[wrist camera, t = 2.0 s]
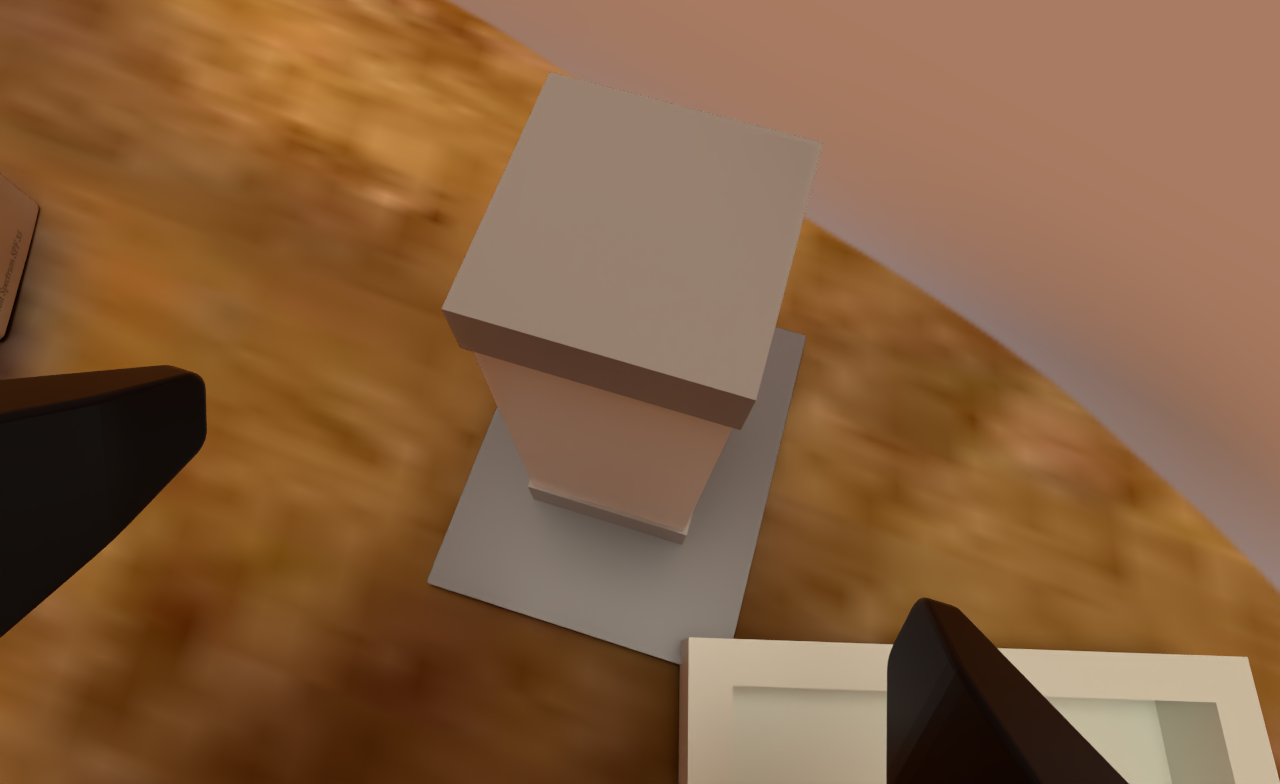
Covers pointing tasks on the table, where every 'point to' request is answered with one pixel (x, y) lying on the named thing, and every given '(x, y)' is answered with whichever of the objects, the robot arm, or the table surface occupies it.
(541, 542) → the holder plate
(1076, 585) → the table surface
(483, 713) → the table surface
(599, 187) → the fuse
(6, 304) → the box
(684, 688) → the parts tray
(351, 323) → the table surface
